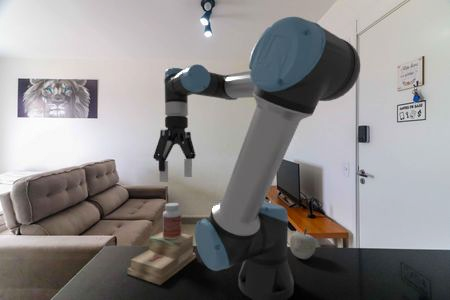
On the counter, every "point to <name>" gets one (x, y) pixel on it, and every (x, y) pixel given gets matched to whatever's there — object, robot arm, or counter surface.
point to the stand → (162, 258)
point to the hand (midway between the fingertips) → (176, 179)
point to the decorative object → (302, 244)
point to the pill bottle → (171, 221)
